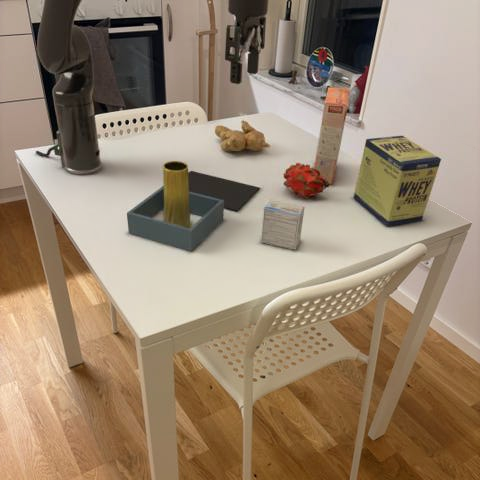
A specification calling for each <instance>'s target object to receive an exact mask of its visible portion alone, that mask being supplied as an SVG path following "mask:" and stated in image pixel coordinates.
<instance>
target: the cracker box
mask: <svg viewBox="0 0 480 480" xmlns="http://www.w3.org/2000/svg"><path fill="white" fill-rule="evenodd" d="M350 91H351V90H350V89H348V88H344V87H343V88H342V87H341V88H340V87H332V86H329V87H328V88H327V93H326V96H325V100H324V105H323V106H324V107H323V110H322V116H321V122H320V129H319V135H318V141H317V146H316V151H315V160H314V166H313V168H314V169H317V170H318V171H319V172H320V174H319V175H320V176H321V177H324V178H325V179H327V181H328V183H329V184H328V185H331V186H332V185H333V184H334V178H335V173H336V170H337V164H338V159H339V155H340V149H341V144H342V139H343V134H344V129H345V124H346V118H347V114H348V108H349V100H350ZM317 174H318V173H317Z"/></svg>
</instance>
